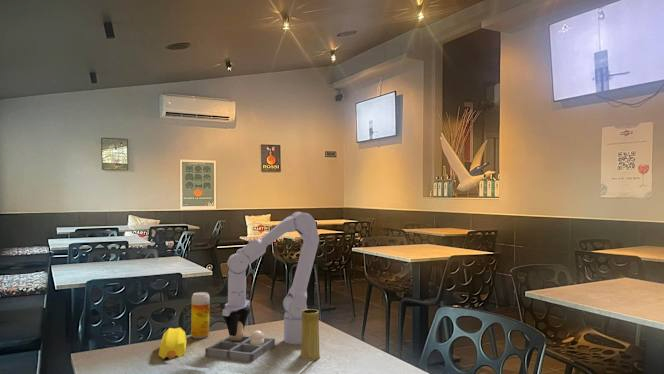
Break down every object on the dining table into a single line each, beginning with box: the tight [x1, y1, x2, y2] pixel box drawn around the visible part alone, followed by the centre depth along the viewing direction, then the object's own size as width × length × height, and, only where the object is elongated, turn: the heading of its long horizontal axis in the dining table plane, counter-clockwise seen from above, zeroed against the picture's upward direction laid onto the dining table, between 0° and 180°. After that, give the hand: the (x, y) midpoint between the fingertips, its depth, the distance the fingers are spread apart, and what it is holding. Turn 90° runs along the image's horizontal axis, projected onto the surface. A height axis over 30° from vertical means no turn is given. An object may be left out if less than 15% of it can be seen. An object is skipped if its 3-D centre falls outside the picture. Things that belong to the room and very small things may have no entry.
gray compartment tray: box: [204, 335, 276, 363], centre depth 149 cm, size 16×16×3 cm
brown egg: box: [228, 321, 244, 340], centre depth 154 cm, size 4×4×6 cm
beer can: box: [190, 291, 211, 340], centre depth 167 cm, size 6×6×15 cm
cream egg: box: [249, 329, 265, 345], centre depth 152 cm, size 4×4×6 cm
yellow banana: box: [158, 327, 188, 360], centre depth 150 cm, size 18×7×8 cm
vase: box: [300, 308, 321, 362], centre depth 146 cm, size 6×6×14 cm
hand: (236, 333), depth 154 cm, fingers closed on brown egg, 4 cm apart
